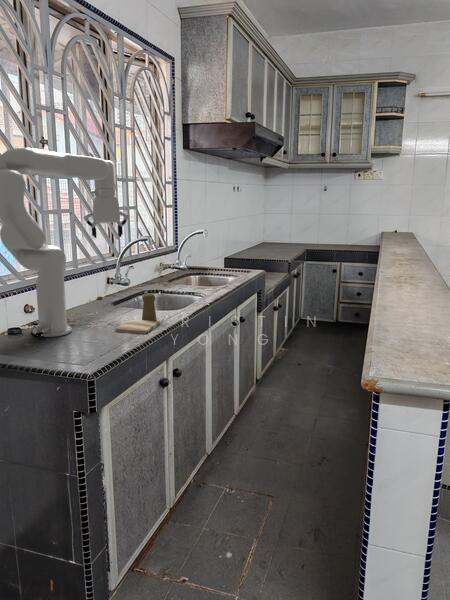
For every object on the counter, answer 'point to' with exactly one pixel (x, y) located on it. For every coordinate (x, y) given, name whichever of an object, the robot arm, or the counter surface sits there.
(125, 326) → the cutting board
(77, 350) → the counter surface
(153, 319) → the olive pepper shaker
